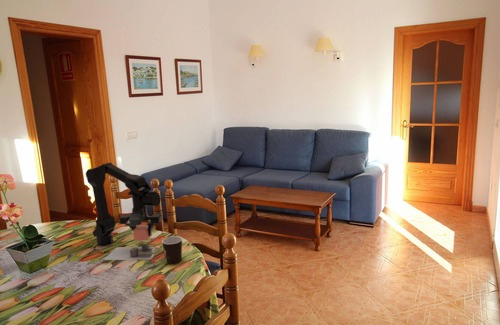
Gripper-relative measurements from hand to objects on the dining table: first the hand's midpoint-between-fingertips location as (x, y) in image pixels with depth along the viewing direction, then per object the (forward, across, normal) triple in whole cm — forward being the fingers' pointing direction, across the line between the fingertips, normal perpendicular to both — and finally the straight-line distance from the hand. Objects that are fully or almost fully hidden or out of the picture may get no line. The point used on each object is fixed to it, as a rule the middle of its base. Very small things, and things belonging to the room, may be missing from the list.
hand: (143, 236), depth 176 cm
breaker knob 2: (+6, +1, 0) cm, 7 cm away
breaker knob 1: (+7, -2, -6) cm, 9 cm away
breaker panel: (+8, -4, -3) cm, 10 cm away
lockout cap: (+1, 0, 0) cm, 1 cm away
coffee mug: (+8, +17, -8) cm, 20 cm away
